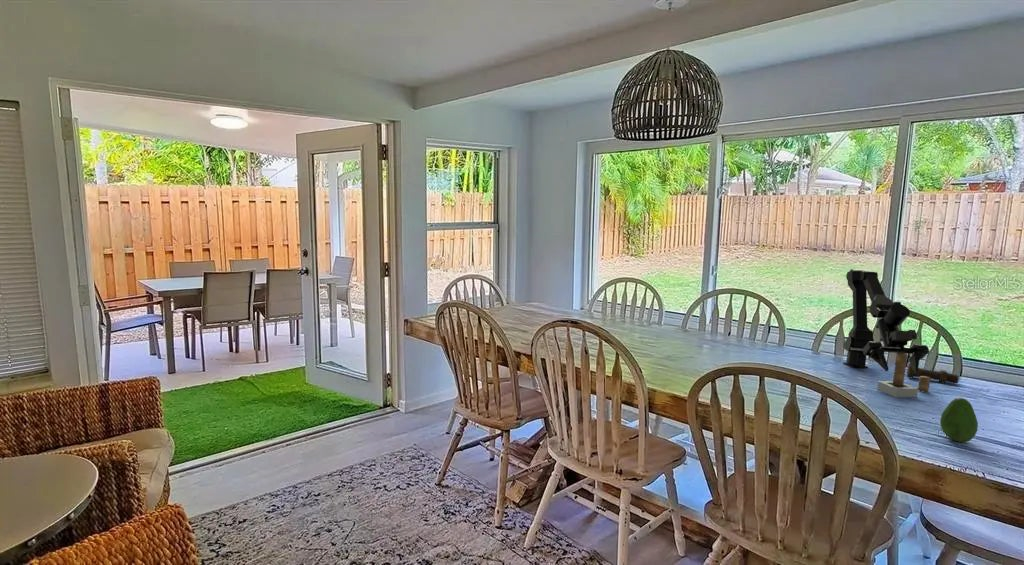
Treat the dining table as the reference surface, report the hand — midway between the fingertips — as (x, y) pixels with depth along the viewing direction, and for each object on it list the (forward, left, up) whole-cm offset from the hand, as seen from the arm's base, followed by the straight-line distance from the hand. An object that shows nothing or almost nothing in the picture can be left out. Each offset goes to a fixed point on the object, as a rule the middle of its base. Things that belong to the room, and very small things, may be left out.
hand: (901, 371), depth 186 cm
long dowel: (-1, 0, -8) cm, 8 cm away
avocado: (+36, -15, -8) cm, 39 cm away
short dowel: (-3, +12, -8) cm, 15 cm away
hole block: (-1, 0, -8) cm, 8 cm away
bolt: (-14, +26, -8) cm, 31 cm away
